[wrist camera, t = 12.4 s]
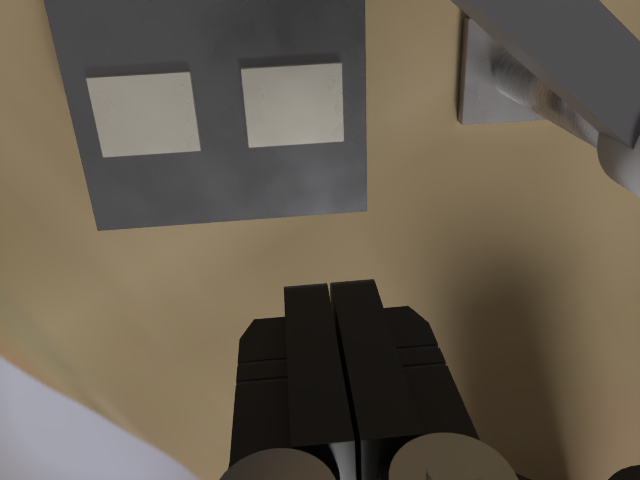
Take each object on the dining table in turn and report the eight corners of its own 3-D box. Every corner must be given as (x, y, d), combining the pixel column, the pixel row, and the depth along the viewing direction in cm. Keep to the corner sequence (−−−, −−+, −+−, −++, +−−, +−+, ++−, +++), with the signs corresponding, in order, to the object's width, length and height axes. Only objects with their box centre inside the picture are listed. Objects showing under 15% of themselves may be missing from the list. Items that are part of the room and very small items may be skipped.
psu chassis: (348, -34, 27) (365, -33, 22) (352, 174, 31) (368, 213, 26) (79, -21, 26) (37, -16, 21) (122, 190, 30) (95, 233, 26)
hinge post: (565, 12, 28) (744, 44, 18) (552, 115, 30) (704, 198, 20) (463, 17, 28) (583, 54, 17) (457, 121, 30) (560, 209, 20)
